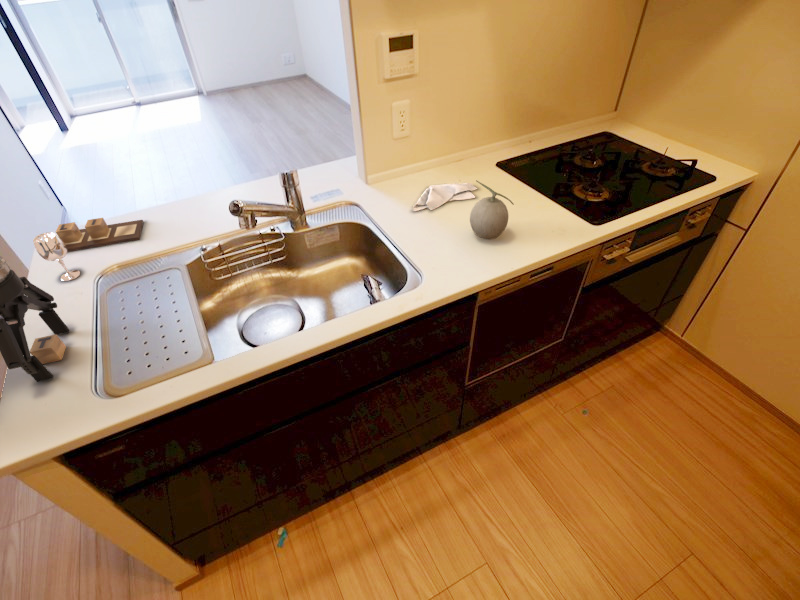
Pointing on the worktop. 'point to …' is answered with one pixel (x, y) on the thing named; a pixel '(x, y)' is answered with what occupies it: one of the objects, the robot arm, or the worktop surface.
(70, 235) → the tile
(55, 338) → the tile
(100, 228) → the tile
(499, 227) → the fruit
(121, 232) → the board
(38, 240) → the wineglass
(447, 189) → the cloth
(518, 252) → the worktop surface
